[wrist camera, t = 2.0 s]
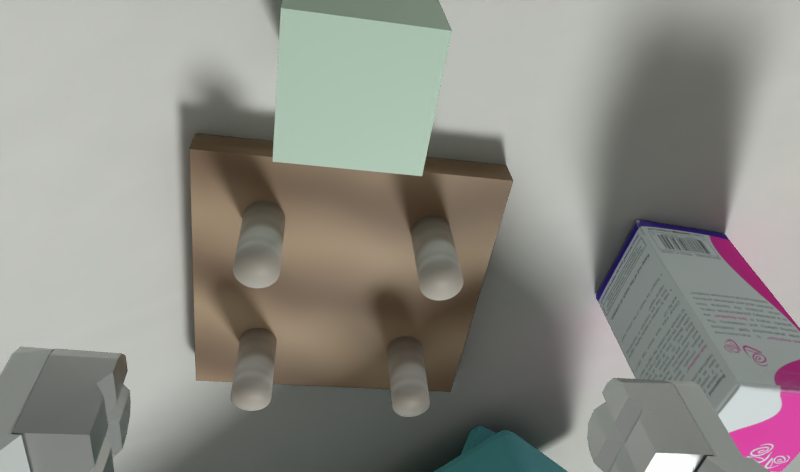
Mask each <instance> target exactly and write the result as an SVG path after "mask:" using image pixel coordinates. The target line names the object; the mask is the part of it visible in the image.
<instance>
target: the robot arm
mask: <svg viewBox="0 0 800 472" xmlns="http://www.w3.org/2000/svg"><path fill="white" fill-rule="evenodd" d="M127 371H128V370H127V363H126V356H125V355H124V354H121V353H108V352H94V351H81V350H68V349H46V348H33V347H20V348H19V349H17V350H16V351H15V352H14V353H13V354H12V355H11V357H10V359H9V360H8V362H7V364H6V366H5V367H4V369H3V371H2V373H1V375H0V472H114V466H113V458H112V457H114V456H115V455H116V454H117V453H118V452H120V451H121V450H122V448H123V445H124V442H125V438H126V435H127V430H128V424H129V418H130V404H131V400H130V390H129V389H128V388H127V387H126V386H125V385H124V384H123V383H124V380H125V377H126V374H127ZM602 393H603V396H604V398H605V400H606V402H605V403H603V404H602V405H600V406H599V407H597V408H596V409H595V410H594V411H593V413H592V416H591V418H590V420H589V423H588V436H587V439H588V445H589V450H590V453H591V456H592V459H593V461H594V463H595V464H596V465H597V466H598V467H599V468H600V469H601V470H602V471H603V472H770V471H769V470H767V469H766V468H765V467H763V466H762V465H761V464H759V463H758V462H757V461H755V460H754V459H753V458H748V457H743V456H742V454H741V452H740V451H739V449H738V447H737V446H736V444H735V442H734V441H733V439H732V437H731V436H730V434H729V433H728V431H727V429H726V428H725V426H724V424H723V423H722V421H721V419H720V418H719V416H718V414H717V413H716V411H715V409H714V408H713V406H712V405H711V403H710V401H709V400H708V398H707V396H706V395H705V393H704V391H703V390H702V388H701V387H700V386H699V385H698V384H696V383H695V382H694V381H673V380H667V381H664V380H650V379H625V378H613V379H612V380H610V381H609V382H608V383H607V384H606V386H605V388H604V390H603V392H602Z"/></svg>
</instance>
